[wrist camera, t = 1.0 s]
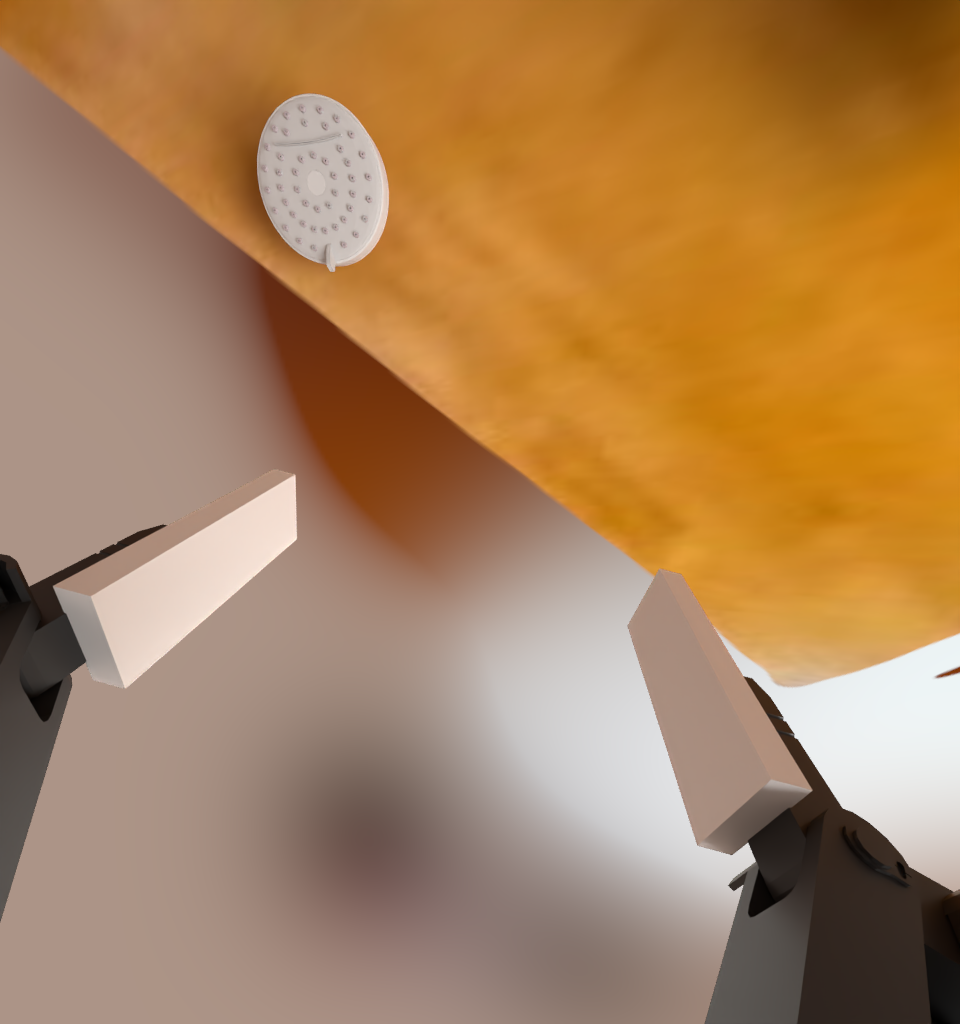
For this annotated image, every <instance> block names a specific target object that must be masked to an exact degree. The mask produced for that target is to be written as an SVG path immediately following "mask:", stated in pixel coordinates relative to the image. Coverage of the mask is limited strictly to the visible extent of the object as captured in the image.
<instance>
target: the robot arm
mask: <svg viewBox="0 0 960 1024" xmlns="http://www.w3.org/2000/svg"><path fill="white" fill-rule="evenodd" d="M296 539H297V524H296V483H295V474H292V473H288V472H284V471H280V470H276V469H274V470H272V471H270V472H268V473H266V474H264V475H262V476H260V477H258V478H257V479H255V480H253V481H251V482H249V483H247V484H245V485H243V486H241V487H239V488H238V489H236V490H234V491H232V492H230V493H228V494H226V495H225V496H223V497H221V498H219V499H217V500H215V501H213V502H211V503H209V504H207V505H205V506H204V507H202V508H200V509H198V510H196V511H194V512H192V513H190V514H188V515H186V516H185V517H183V518H181V519H179V520H177V521H175V522H173V523H171V524H169V525H160V526H156V527H153V528H150V529H146V530H142V531H139V532H137V533H135V534H133V535H131V536H129V537H127V538H125V539H123V540H121V541H119V542H118V543H117V544H116V545H114V544H113V545H111V546H109V547H107V548H105V549H103V550H101V551H100V553H99V554H96V553H95V554H93V555H91V556H89V557H87V558H86V559H83V560H81V561H79V562H77V563H75V564H73V565H71V566H69V567H67V568H65V569H64V570H61V571H59V572H57V573H55V574H54V575H52V576H49V577H48V578H46V579H44V580H42V581H40V582H38V583H36V584H34V585H32V586H30V587H29V586H28V584H27V582H26V579H25V578H24V575H23V573H22V571H21V569H20V567H19V565H18V562H17V561H16V560H15V559H13V558H12V557H11V556H8V555H2V554H0V921H1V918H2V914H3V911H4V908H5V904H6V901H7V898H8V895H9V892H10V888H11V885H12V882H13V878H14V875H15V872H16V869H17V865H18V862H19V859H20V855H21V852H22V849H23V846H24V842H25V839H26V836H27V832H28V829H29V826H30V823H31V819H32V816H33V813H34V809H35V806H36V803H37V799H38V796H39V793H40V790H41V786H42V783H43V780H44V777H45V773H46V770H47V767H48V763H49V760H50V757H51V753H52V750H53V747H54V744H55V740H56V737H57V734H58V731H59V727H60V724H61V721H62V717H63V714H64V711H65V708H66V704H67V701H68V698H69V695H70V691H71V688H72V678H71V675H70V673H72V672H73V671H74V670H76V669H77V668H78V667H80V666H81V665H82V664H84V663H86V665H87V667H88V670H89V672H90V674H91V676H92V679H93V680H95V681H98V682H102V683H106V684H109V685H113V686H116V687H120V688H124V689H126V688H127V687H128V686H129V685H130V684H131V683H132V682H134V681H135V680H136V679H137V678H138V677H140V676H141V675H142V674H143V673H144V672H145V671H146V670H148V669H149V668H150V667H151V666H152V665H153V664H154V663H155V662H157V661H158V660H159V659H160V658H161V657H162V656H164V655H165V654H166V653H167V652H168V651H169V650H170V649H172V648H173V647H174V646H175V645H176V644H177V643H178V642H180V641H181V640H182V639H183V638H184V637H185V636H186V635H187V634H189V633H190V632H191V631H192V630H193V629H194V628H196V627H197V626H198V625H199V624H200V623H201V622H202V621H204V620H205V619H206V618H207V617H208V616H209V615H210V614H212V613H213V612H214V611H215V610H216V609H217V608H219V607H220V606H221V605H222V604H223V603H224V602H225V601H226V600H227V599H229V598H230V597H231V596H232V595H233V594H235V593H236V592H237V591H238V590H239V589H240V588H241V587H243V586H244V585H245V584H246V583H247V582H248V581H249V580H251V579H252V578H253V577H254V576H255V575H256V574H257V573H259V572H260V571H261V570H262V569H263V568H264V567H265V566H267V565H268V564H269V563H270V562H271V561H272V560H273V559H274V558H276V557H277V556H278V555H279V554H280V553H281V552H283V551H284V550H285V549H286V548H287V547H288V546H290V545H291V544H292V543H293V542H294V541H295V540H296ZM628 629H629V632H630V635H631V638H632V642H633V645H634V647H635V651H636V654H637V657H638V660H639V664H640V666H641V670H642V673H643V676H644V679H645V682H646V685H647V689H648V692H649V695H650V698H651V701H652V704H653V707H654V711H655V714H656V717H657V720H658V723H659V726H660V730H661V732H662V736H663V739H664V742H665V745H666V748H667V751H668V755H669V758H670V761H671V764H672V767H673V770H674V773H675V777H676V780H677V783H678V786H679V789H680V792H681V795H682V798H683V802H684V805H685V808H686V811H687V814H688V817H689V820H690V824H691V827H692V830H693V833H694V836H695V839H696V842H697V845H698V846H701V847H704V848H708V849H712V850H715V851H719V852H723V853H726V854H730V855H733V854H734V853H735V852H736V851H738V850H739V849H740V848H742V847H743V846H744V845H745V844H747V843H749V845H750V848H751V850H752V853H753V855H754V857H755V859H756V862H755V863H754V864H752V865H751V866H750V867H748V868H747V869H746V870H744V871H743V872H742V873H740V874H739V875H738V876H736V877H735V878H734V879H733V880H732V881H731V882H730V884H729V885H728V886H729V887H730V888H731V889H732V890H733V891H735V890H736V889H737V888H739V887H740V886H742V885H744V886H743V890H742V893H741V897H740V900H739V904H738V907H737V911H736V914H735V918H734V921H733V925H732V928H731V932H730V936H729V939H728V943H727V946H726V950H725V953H724V957H723V960H722V964H721V968H720V971H719V975H718V978H717V982H716V985H715V989H714V993H713V996H712V999H711V1003H710V1007H709V1010H708V1014H707V1017H706V1021H705V1024H960V890H958V891H955V892H953V891H951V890H949V889H947V888H946V887H944V886H942V885H940V884H938V883H937V882H935V881H933V880H931V879H930V878H928V877H926V876H924V875H922V874H921V873H919V872H917V871H915V870H914V869H912V868H910V867H909V866H908V864H907V863H906V861H905V860H904V858H903V857H902V855H901V854H900V853H899V852H898V851H897V850H896V848H895V847H894V846H893V845H892V844H891V843H890V842H889V840H888V839H887V838H886V837H885V836H883V835H882V834H881V833H880V832H879V831H878V830H877V829H875V828H874V827H873V826H872V825H871V824H870V823H868V822H867V821H865V820H864V819H862V818H861V817H859V816H858V815H856V814H854V813H853V812H850V811H848V810H845V809H843V808H842V807H841V806H840V804H839V802H838V801H837V799H836V798H835V797H834V795H833V793H832V792H831V790H830V789H829V787H828V785H827V784H826V782H825V781H824V779H823V778H822V776H821V775H820V773H819V772H818V770H817V769H816V767H815V765H814V764H813V762H812V761H811V759H810V758H809V756H808V755H807V753H806V752H805V750H804V749H803V747H802V746H801V744H800V742H799V741H798V739H795V738H794V733H793V731H792V730H791V729H790V727H789V726H788V724H787V722H785V721H783V716H782V714H781V713H780V711H779V710H778V709H777V707H776V705H775V704H774V702H773V701H772V699H771V697H769V695H768V694H767V693H766V692H765V691H764V690H763V689H762V688H761V687H760V686H759V685H758V684H757V683H756V682H755V681H754V680H753V679H752V678H748V677H744V676H743V675H742V673H741V672H740V670H739V668H738V667H737V665H736V664H735V662H734V660H733V659H732V657H731V655H730V654H729V652H728V650H727V649H726V647H725V646H724V644H723V642H722V640H721V639H720V637H719V636H718V634H717V632H716V631H715V629H714V627H713V626H712V624H711V622H710V621H709V619H708V617H707V616H706V614H705V613H704V611H703V609H702V608H701V606H700V604H699V603H698V601H697V599H696V598H695V596H694V594H693V593H692V591H691V589H690V588H689V586H688V585H687V583H686V581H685V580H684V578H683V576H682V575H681V574H678V573H675V572H671V571H667V570H663V569H659V570H658V572H657V574H656V576H655V578H654V579H653V581H652V583H651V585H650V587H649V588H648V590H647V592H646V594H645V596H644V597H643V599H642V601H641V603H640V604H639V607H638V608H637V610H636V612H635V614H634V615H633V617H632V619H631V621H630V623H629V624H628Z"/></svg>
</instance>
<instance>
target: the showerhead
mask: <svg viewBox="0 0 960 1024" xmlns="http://www.w3.org/2000/svg"><path fill="white" fill-rule="evenodd" d="M257 175H258V183H259V189H260V193H261V197H262V200H263V203H264V206H265V209H266V211H267V213H268V216H269V218H270V220H271V222H272V223H273V225H274V227H275V228H276V230H277V231H278V233H279V234H280V236H281V237H282V238H283V239H284V240H285V242H286V243H287V244H288V245H289V246H290V247H291V248H293V249H294V250H295V251H296V252H298V253H299V254H300V255H302V256H304V257H305V258H307V259H309V260H312V261H314V262H317V263H321V264H325V265H327V267H328V269H329V270H330V272H335V266H347V265H350V264H353V263H356V262H358V261H359V260H361V259H363V258H364V257H365V256H367V255H368V254H369V253H370V252H371V251H372V249H373V248H374V247H375V245H376V244H377V242H378V241H379V239H380V237H381V235H382V232H383V230H384V227H385V224H386V220H387V215H388V207H389V190H388V181H387V175H386V171H385V167H384V164H383V161H382V158H381V156H380V153H379V151H378V149H377V147H376V145H375V143H374V142H373V140H372V138H371V137H370V135H369V134H368V133H367V131H366V130H365V128H364V127H363V126H362V124H361V123H360V122H359V120H358V119H357V118H356V117H355V116H354V115H353V114H352V113H351V112H350V111H349V110H348V109H347V108H346V107H344V106H343V105H342V104H340V103H339V102H337V101H335V100H333V99H331V98H329V97H326V96H323V95H319V94H301V95H297V96H294V97H292V98H290V99H288V100H286V101H285V102H283V103H282V104H281V105H280V106H278V107H277V108H276V109H275V111H274V112H273V113H272V115H271V116H270V117H269V119H268V121H267V123H266V125H265V127H264V129H263V132H262V135H261V138H260V142H259V148H258V154H257Z"/></svg>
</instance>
